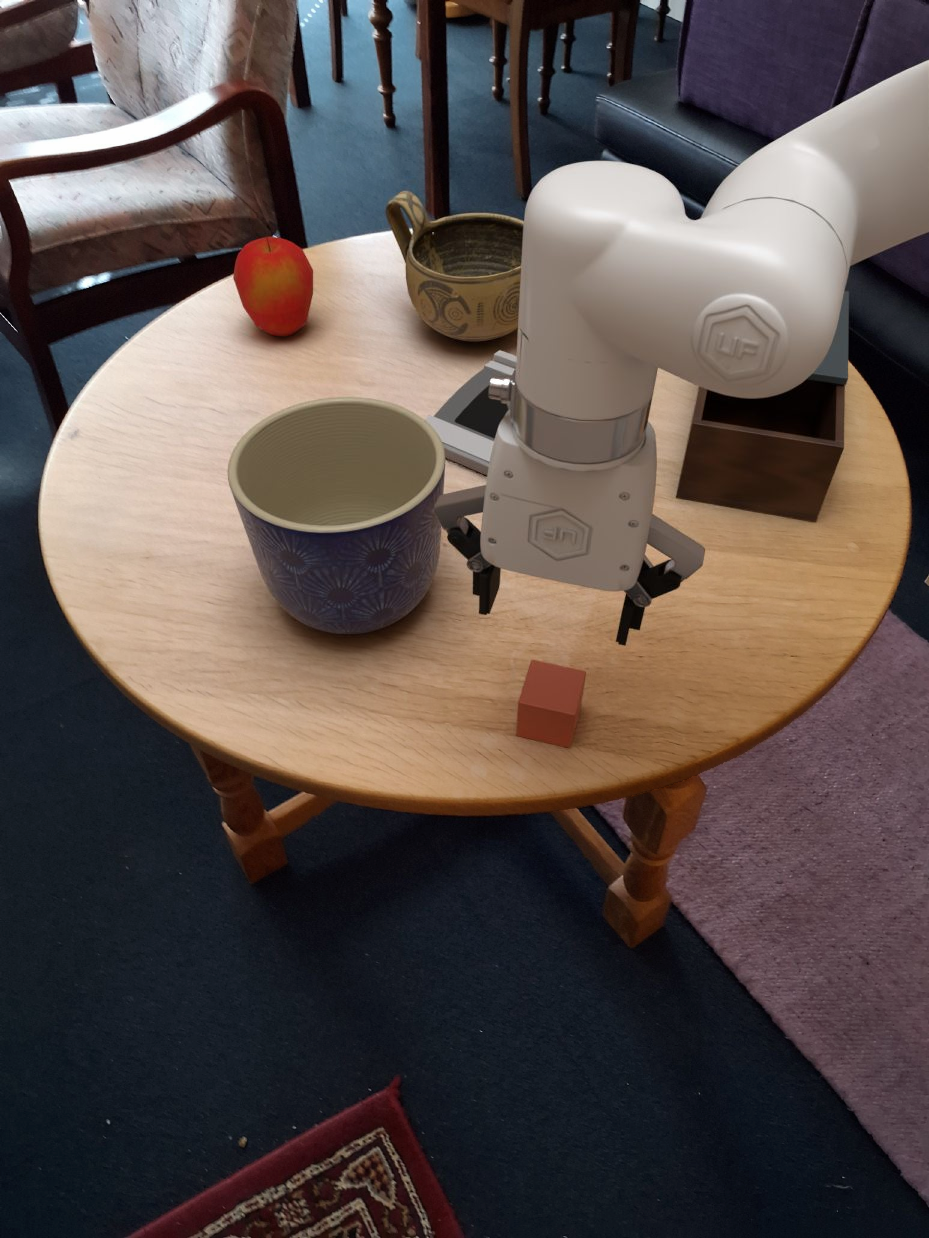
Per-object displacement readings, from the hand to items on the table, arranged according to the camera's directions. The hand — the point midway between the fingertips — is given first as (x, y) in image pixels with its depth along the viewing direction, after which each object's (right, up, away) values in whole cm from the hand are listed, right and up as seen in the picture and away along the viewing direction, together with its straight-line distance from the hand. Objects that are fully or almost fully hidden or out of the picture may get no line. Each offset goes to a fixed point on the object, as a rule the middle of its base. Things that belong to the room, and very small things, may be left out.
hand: (555, 615), depth 62 cm
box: (+24, +17, +32) cm, 43 cm away
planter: (-16, +2, +19) cm, 25 cm away
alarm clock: (0, +19, +34) cm, 40 cm away
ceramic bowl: (-5, +36, +49) cm, 61 cm away
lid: (+27, +30, +31) cm, 51 cm away
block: (0, -8, +9) cm, 12 cm away
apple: (-29, +36, +49) cm, 67 cm away
